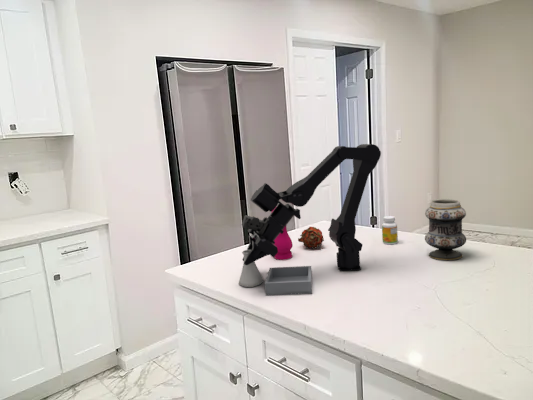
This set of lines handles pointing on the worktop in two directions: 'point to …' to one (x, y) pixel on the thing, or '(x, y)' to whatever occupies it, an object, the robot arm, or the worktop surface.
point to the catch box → (289, 280)
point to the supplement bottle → (389, 230)
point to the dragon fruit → (311, 237)
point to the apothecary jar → (445, 228)
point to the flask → (250, 273)
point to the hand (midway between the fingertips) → (244, 262)
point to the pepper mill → (283, 245)
